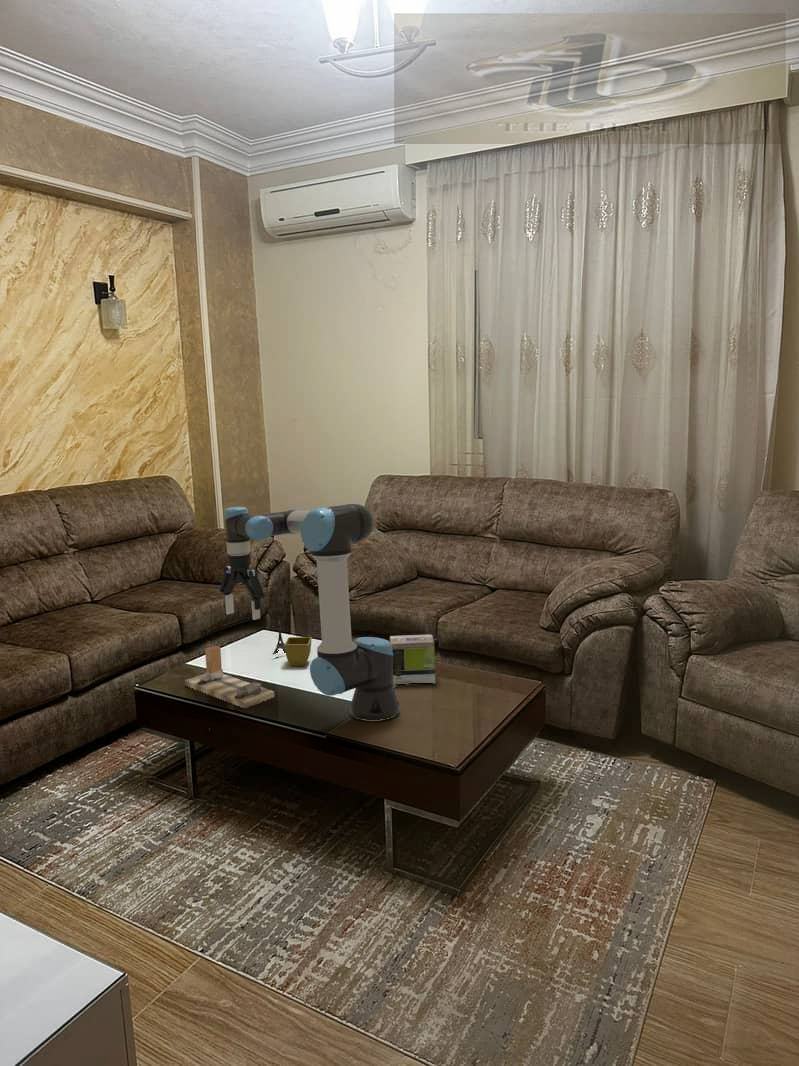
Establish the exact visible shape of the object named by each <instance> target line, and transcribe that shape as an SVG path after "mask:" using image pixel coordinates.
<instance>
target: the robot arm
mask: <svg viewBox="0 0 799 1066" xmlns="http://www.w3.org/2000/svg"><path fill="white" fill-rule="evenodd" d="M248 510H249V509H248V508H247V507H245V506H235V507H228V508H226V509H225V511H224V524H225V535H226V536H225V537H226V552H227V554H228V555H227V566H224V568H223V575H222V580H221V584H220V588H219V593H222V594H223V596H224V603H225V614H226V615H231V614H235V607H234V594H233V590H234V588H235V586H236V584H237V583H238V582H239V583H242V584H243V585H244V586H245V587H246V590H247V591H248V593H249V595H250V596H251V598H252V599H251V601H250V602H251V613H252V616H251V617H252V620H253V621H256V620H259V619H261V609H262V608H261V605H262V604H261V599H265V598H266V596H265V593H264V590H263V588H262V585H261V582H260V580H259V576H258V572H257V569H255V568H254V569H250V566H251V564H252V555H251V554H250V552H251V544H250V543H251V540H250V539H252V540H255V541H260V540H261V541H263V540H267V539H269V538H271V537H276V536H281V535H282V536H283V535H300V536H301V537H300V538H301V541H302V543H303V546H304V547H305V548H306V549H307V550H308V551H310V556H311V557H312V558H313V559H314V560H315V561H316V568H317V572H316V573H317V587H318V599H319V600H318V601H319V616H320V617H319V618H320V631H321V632H320V633H321V643H320V644H318V646H317V647H316V651H317V657H315V658H313V660H311V662H310V664H309V673H310V678H311V680H312V683H313V684H314V685H315V687H316V688H317V690H318V691H319V692H320V693H322V694H323V695H326V696H329V697H331V696H336V695H341V694H344V693H346V692H348V691H351V690H354V692H353V695H352V699H351V702H350V705H349V706H350V707H349V713H350V716H351V717H352V718H354V717H356V718H359V719H366V720H380V719H387V718H391V717H393V716H395V715H397V714H398V713H399V714H400V712H401V711H400V710H401V709H400V706H401V705H400V703H399V700H398V699H397V698H398V697H397V695H396V690H395V687H394V685H393V650H392V644H391V643H390V640H387V639H384V638H380V637H376V636H375V637H374V636H363V637H357V638H355V639H354V641H353V640H352V639H353V638H352V625H351V613H350V612H351V610H350V608H351V607H350V606H351V605H350V591H349V590H350V588H349V573H348V558H349V557H350V556H351V554H353V553H352V552H353V551H352V545H354V544H358V543H362V542H363V541H366V540H367V539H368V538H369V537H370V536H371V534H372V532H373V530H374V525H375V520H374V517H373V514H372V512H371V511H370V510H369V509H368V508H367V507H365V506H364V505H362V504H358V503H348V504H342V505H332V506H324V507H323V506H321V507H319V508H315V509H311V510H298V509H290V510H286V511H278V512H271V513H270V512H269V513H264V514H254V515H253V514H249V511H248ZM399 711H400V712H399ZM399 714H398V715H399ZM398 715H397V716H398Z"/></svg>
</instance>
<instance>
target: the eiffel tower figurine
mask: <svg viewBox="0 0 799 1066" xmlns="http://www.w3.org/2000/svg"><path fill="white" fill-rule="evenodd" d="M280 621H281V620H280V619H279V622H278V638H277V644H276V647H275V649H274V650H275V651H273V652H274V653H272V655H277V654H276V653H278V651H279V650H278V649H283V651H284V653H286V651H285V643H286V642H285V643H284V640H283V637H282V629H281V622H280ZM277 650H278V651H277Z"/></svg>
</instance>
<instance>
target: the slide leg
mask: <svg viewBox="0 0 799 1066" xmlns="http://www.w3.org/2000/svg"><path fill="white" fill-rule="evenodd" d="M204 650H205V651H204V652H205V653H204V654H205V669H206V671H205V672H204V674H205V675H206V676H204V675H203V674H199V676H200V682H201V683H202V682H204V680H207V679H208V680H211V681H212V680H215V679H218V678H221V677H223V674H224V670H223V667H222V653H221V650H222V649H221V647H220V646H217V645H212V646H209V647H205V648H204Z"/></svg>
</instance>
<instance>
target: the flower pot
mask: <svg viewBox="0 0 799 1066" xmlns="http://www.w3.org/2000/svg"><path fill="white" fill-rule="evenodd" d="M312 639H313V638H312V636H292V637H291V636H290V637H287V639H286V641H285V651H286V656H285V657H286V659H287V662H288V663H289V665H290V666H291V667H306V666H307V663H308V660H309V658H310V654H311V649H312Z"/></svg>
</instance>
